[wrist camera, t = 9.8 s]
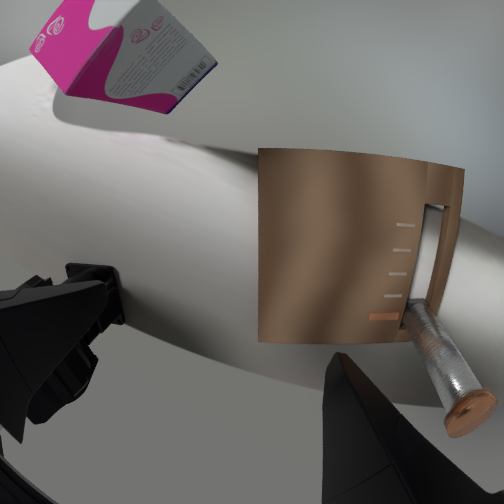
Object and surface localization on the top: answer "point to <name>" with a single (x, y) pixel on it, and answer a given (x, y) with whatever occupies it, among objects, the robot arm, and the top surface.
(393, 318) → the brown wooden flat board
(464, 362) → the capped cylinder
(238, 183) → the top surface
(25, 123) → the top surface
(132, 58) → the supplement box
